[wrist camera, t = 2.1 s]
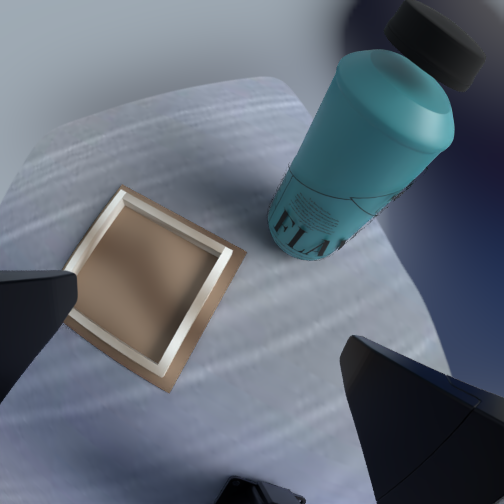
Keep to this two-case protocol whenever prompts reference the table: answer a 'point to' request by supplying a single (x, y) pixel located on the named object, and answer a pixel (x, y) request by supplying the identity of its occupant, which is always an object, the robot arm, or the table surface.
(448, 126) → the beverage bottle
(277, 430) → the table surface
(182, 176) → the table surface
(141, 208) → the tray
